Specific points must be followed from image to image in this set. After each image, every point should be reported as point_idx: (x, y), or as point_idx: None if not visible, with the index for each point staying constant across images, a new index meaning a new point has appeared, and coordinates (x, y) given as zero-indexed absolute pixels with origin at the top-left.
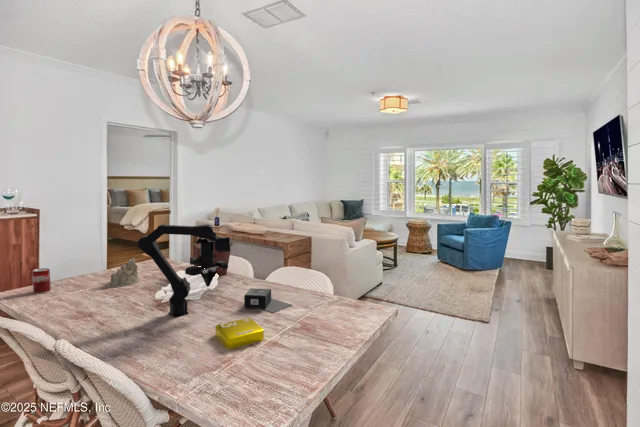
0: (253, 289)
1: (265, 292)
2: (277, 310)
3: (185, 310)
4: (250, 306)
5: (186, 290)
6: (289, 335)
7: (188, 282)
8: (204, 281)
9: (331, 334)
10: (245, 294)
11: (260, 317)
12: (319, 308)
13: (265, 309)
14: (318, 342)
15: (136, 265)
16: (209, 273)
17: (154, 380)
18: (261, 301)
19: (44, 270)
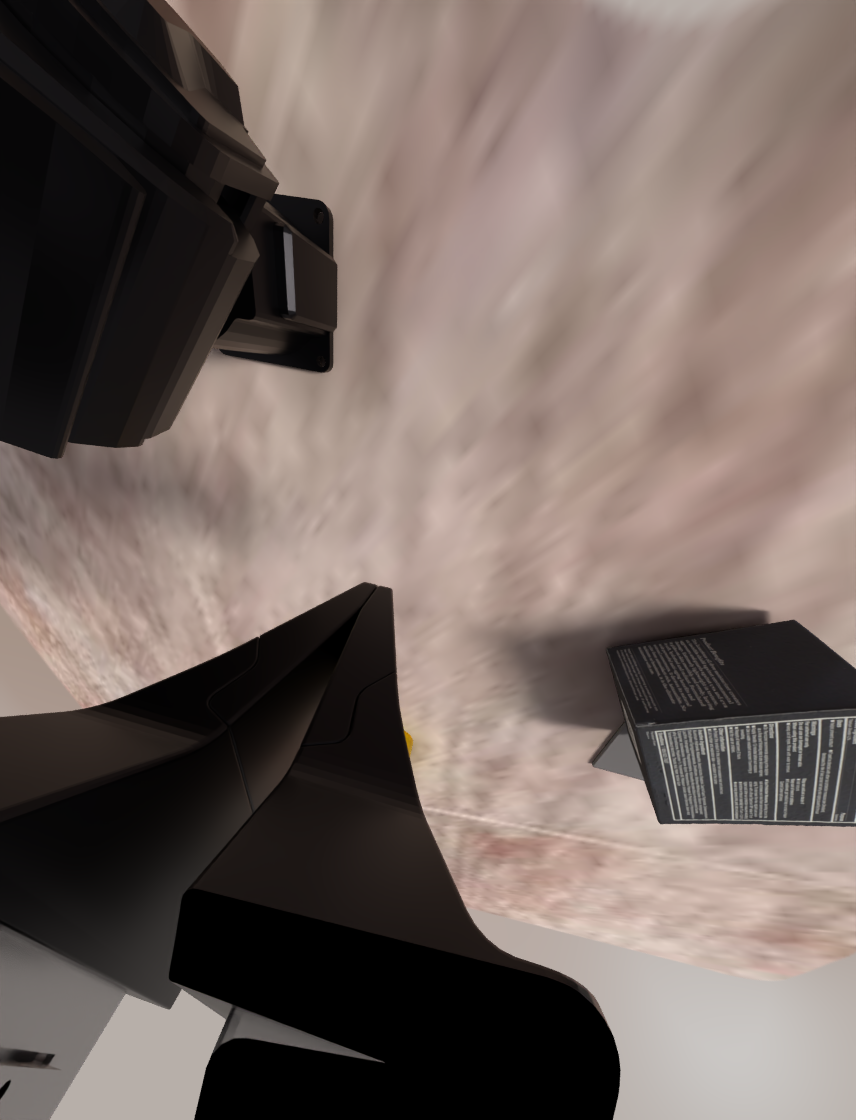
0: (848, 735)
1: (756, 812)
2: (627, 775)
3: (307, 335)
4: (615, 683)
5: (80, 437)
6: (432, 826)
7: (52, 121)
8: (297, 616)
9: (495, 883)
10: (658, 727)
11: (517, 740)
12: (718, 870)
13: (620, 735)
14: None
15: None
16: (170, 982)
17: (74, 686)
18: (640, 765)
19: None
